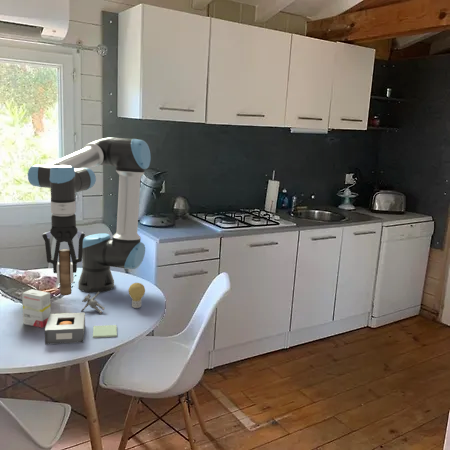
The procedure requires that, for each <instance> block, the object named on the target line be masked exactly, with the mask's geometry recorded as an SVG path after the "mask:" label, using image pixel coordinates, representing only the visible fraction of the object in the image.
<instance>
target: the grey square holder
mask: <svg viewBox="0 0 450 450" xmlns="http://www.w3.org/2000/svg"><path fill="white" fill-rule="evenodd" d="M63 321H71V322H72V324H67V325H60V323H61V322H63ZM85 328H86V313H85V312H69V313H68V312H65V313H51V314H49V317H48V321H47V324H46V326H45V327H44V344H45V345H57V344H58V345H59V344H74V343H75V344H76V343H78V344H80V343H84V339H85V337H84V336H85V330H86V329H85Z"/></svg>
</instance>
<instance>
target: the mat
mask: <svg viewBox="0 0 450 450" xmlns="http://www.w3.org/2000/svg"><path fill="white" fill-rule="evenodd" d="M117 327H118V326H117V324H110V325H109V324H108V325H107V324H106V325H93V329H92V338H95V339H97V338H115V337H118V334H117V333H118V332H117V330H118V328H117Z"/></svg>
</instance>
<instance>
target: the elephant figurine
mask: <svg viewBox="0 0 450 450" xmlns="http://www.w3.org/2000/svg"><path fill="white" fill-rule="evenodd" d="M99 294H100V292H98V293H96V294H95V295H93V296H91V294H90V293H88V294H87V295H86V296H84V298H83V299H82V300H81V302H83V303H86V304H85V306H84V307H83V308H81V310H80V313H83V312H84V311H85V309H86V308H87V307H90V308H91V309H94V310H95V311H97V313H99V314H102V312H103V311H104V310H105V307H104V306H102V305H101V304H100V303H98V301H97V300H96V297H97V296H98V295H99ZM98 307H99V308H98Z"/></svg>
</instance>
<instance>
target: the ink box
mask: <svg viewBox="0 0 450 450" xmlns="http://www.w3.org/2000/svg"><path fill="white" fill-rule="evenodd" d="M21 296H22V298H21V299H22V301H21V302H22V318H23V319H22V320H23V325H26V326H32V327H37V328H41V329H42V328H44V329H45V328H46V324H47V321H48V317H49V314H52V312H51V311H52V309H51V307H52V305H51V293H50V292H46V291H42V290H37V289H32V288H31V289H29V290H26V291H24V292H22V293H21Z"/></svg>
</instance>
